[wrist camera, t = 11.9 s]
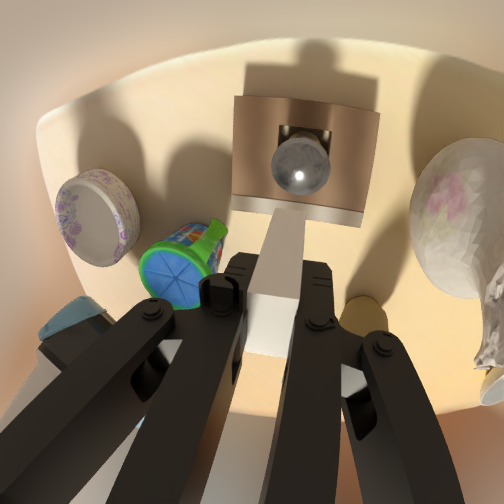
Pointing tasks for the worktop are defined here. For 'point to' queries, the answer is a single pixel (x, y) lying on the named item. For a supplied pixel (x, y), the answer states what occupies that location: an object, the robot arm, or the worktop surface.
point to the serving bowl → (493, 387)
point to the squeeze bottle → (363, 316)
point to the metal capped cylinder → (301, 164)
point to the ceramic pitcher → (465, 232)
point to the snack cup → (182, 263)
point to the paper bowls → (97, 217)
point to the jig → (339, 152)
